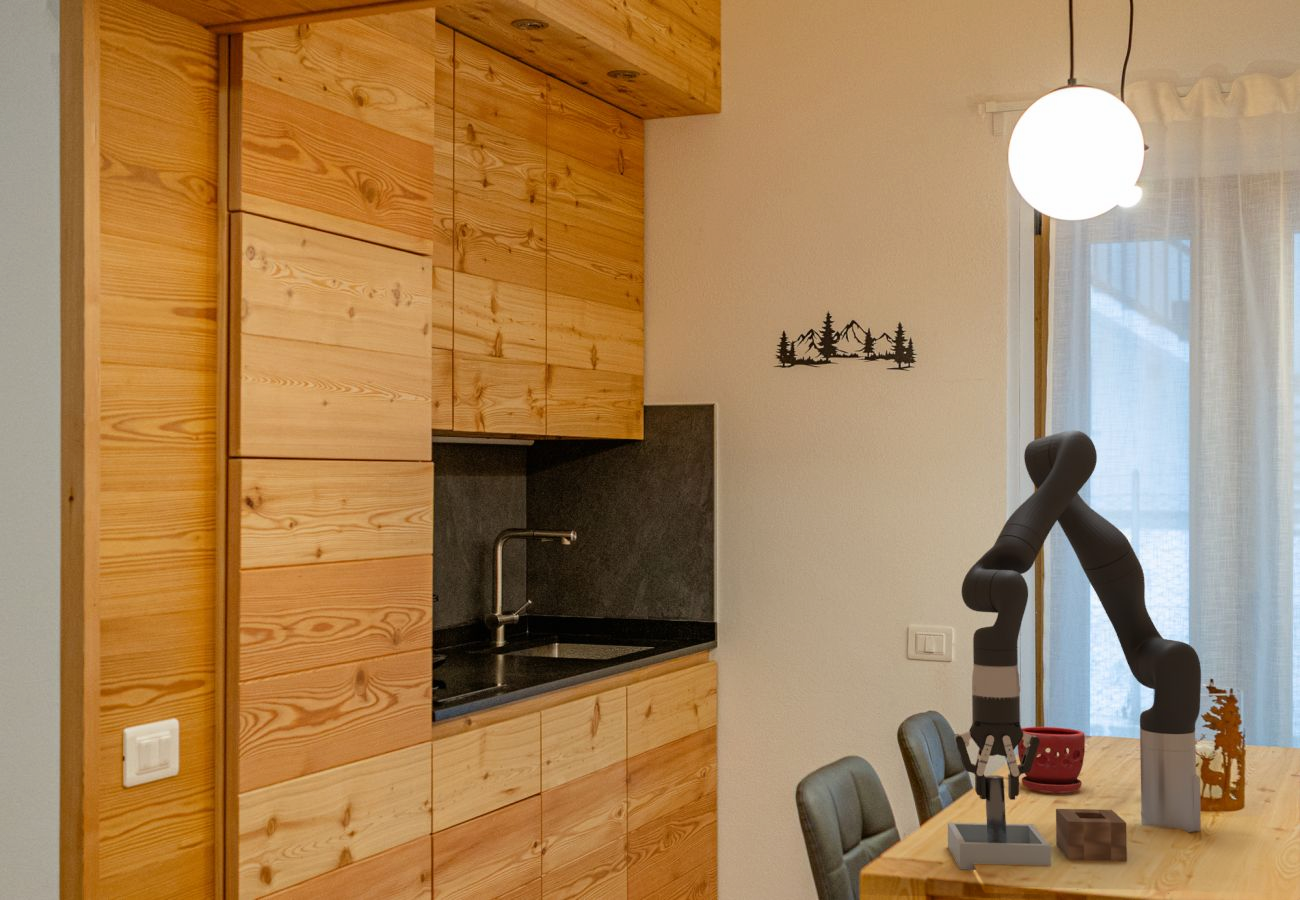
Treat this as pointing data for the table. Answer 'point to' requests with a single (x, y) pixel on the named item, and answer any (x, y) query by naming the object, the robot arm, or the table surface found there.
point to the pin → (995, 809)
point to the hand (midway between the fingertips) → (996, 797)
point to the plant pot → (1054, 760)
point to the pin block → (1091, 835)
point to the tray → (997, 846)
